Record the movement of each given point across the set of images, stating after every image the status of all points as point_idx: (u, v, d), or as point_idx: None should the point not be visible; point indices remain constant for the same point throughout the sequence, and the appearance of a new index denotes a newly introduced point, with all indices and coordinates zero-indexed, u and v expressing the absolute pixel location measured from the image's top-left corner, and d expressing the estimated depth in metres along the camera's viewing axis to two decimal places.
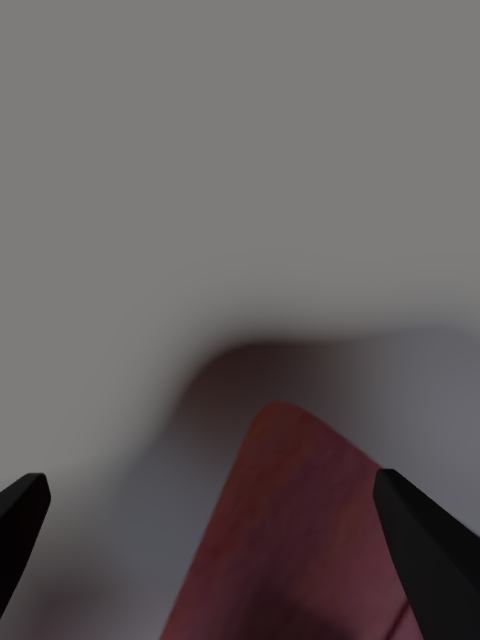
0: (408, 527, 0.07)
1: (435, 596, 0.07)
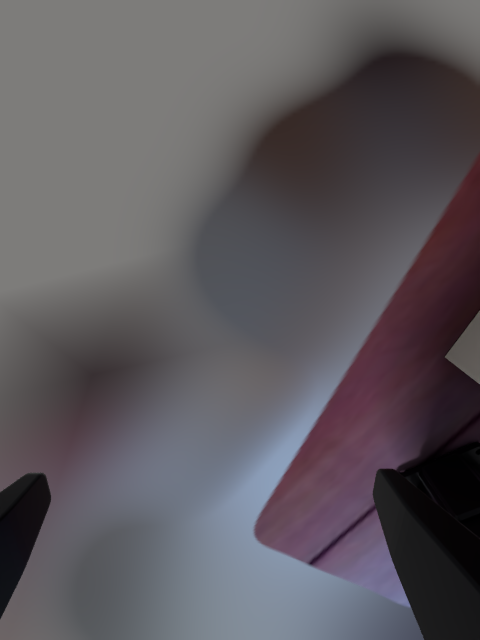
0: (408, 527, 0.07)
1: (435, 596, 0.07)
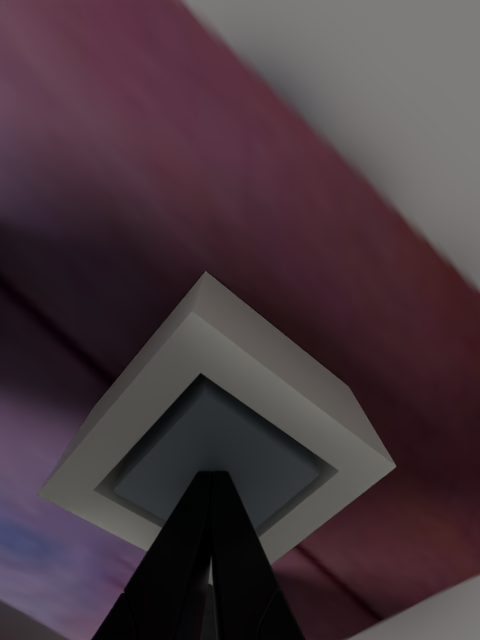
0: (210, 530, 0.07)
1: (215, 601, 0.07)
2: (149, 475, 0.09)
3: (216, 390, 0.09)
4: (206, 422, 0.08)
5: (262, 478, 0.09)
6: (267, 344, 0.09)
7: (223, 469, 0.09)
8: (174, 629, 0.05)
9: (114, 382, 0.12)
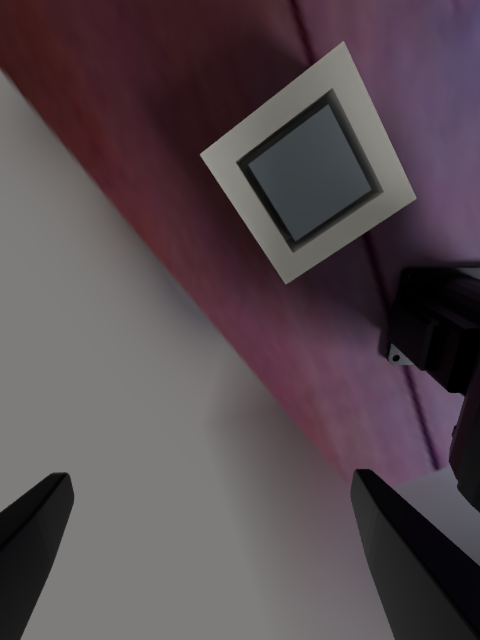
0: (380, 527, 0.07)
1: (404, 597, 0.07)
2: (345, 195, 0.15)
3: (289, 233, 0.16)
4: (300, 223, 0.15)
5: (282, 172, 0.15)
6: None
7: (302, 186, 0.15)
8: None
9: None
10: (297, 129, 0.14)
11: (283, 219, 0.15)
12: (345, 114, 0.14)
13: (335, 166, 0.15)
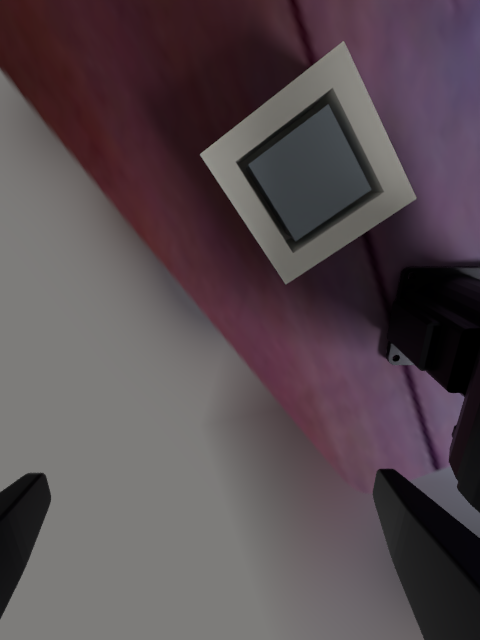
0: (408, 527, 0.07)
1: (435, 596, 0.07)
2: (345, 195, 0.15)
3: (289, 233, 0.16)
4: (300, 223, 0.15)
5: (282, 172, 0.15)
6: None
7: (302, 186, 0.15)
8: None
9: None
10: (297, 129, 0.14)
11: (283, 219, 0.15)
12: (345, 114, 0.14)
13: (336, 166, 0.15)
